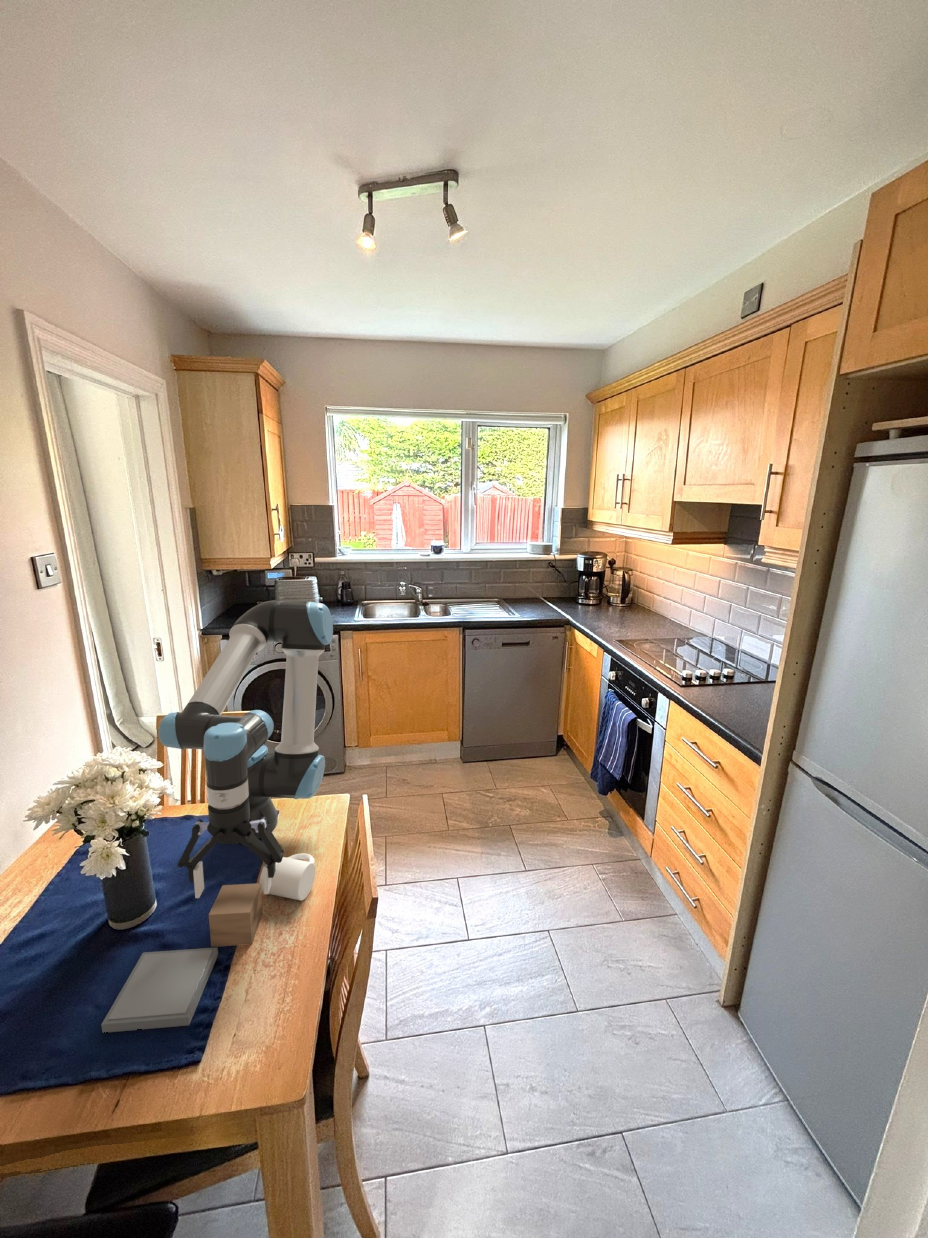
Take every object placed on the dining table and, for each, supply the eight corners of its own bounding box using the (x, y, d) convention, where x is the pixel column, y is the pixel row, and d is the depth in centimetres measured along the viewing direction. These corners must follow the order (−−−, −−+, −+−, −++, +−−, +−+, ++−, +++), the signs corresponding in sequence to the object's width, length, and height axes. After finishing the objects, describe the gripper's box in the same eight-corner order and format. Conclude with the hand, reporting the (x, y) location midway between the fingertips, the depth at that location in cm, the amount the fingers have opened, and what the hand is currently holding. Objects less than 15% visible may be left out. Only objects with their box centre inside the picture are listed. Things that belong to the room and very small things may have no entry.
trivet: (143, 960, 98) (142, 951, 97) (218, 954, 100) (217, 946, 99) (102, 1033, 84) (101, 1024, 84) (189, 1025, 86) (188, 1016, 86)
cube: (224, 916, 109) (222, 885, 107) (262, 913, 110) (260, 883, 108) (211, 947, 101) (208, 915, 100) (251, 944, 102) (249, 912, 101)
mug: (299, 909, 112) (297, 879, 110) (259, 900, 114) (257, 871, 112) (324, 872, 123) (323, 844, 122) (287, 865, 125) (286, 837, 123)
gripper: (153, 813, 94) (162, 909, 98) (288, 808, 97) (291, 901, 101) (171, 791, 101) (178, 881, 105) (296, 788, 104) (299, 875, 108)
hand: (234, 891), depth 103 cm, fingers open, 13 cm apart
